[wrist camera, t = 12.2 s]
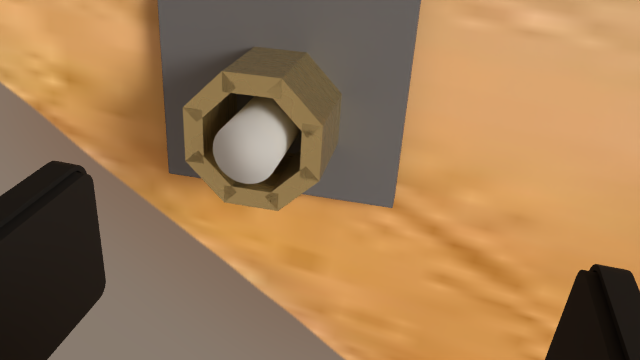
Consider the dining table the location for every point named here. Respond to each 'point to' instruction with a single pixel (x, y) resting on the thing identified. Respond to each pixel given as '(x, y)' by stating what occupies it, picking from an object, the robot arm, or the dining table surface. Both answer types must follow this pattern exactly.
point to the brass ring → (296, 101)
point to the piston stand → (264, 113)
